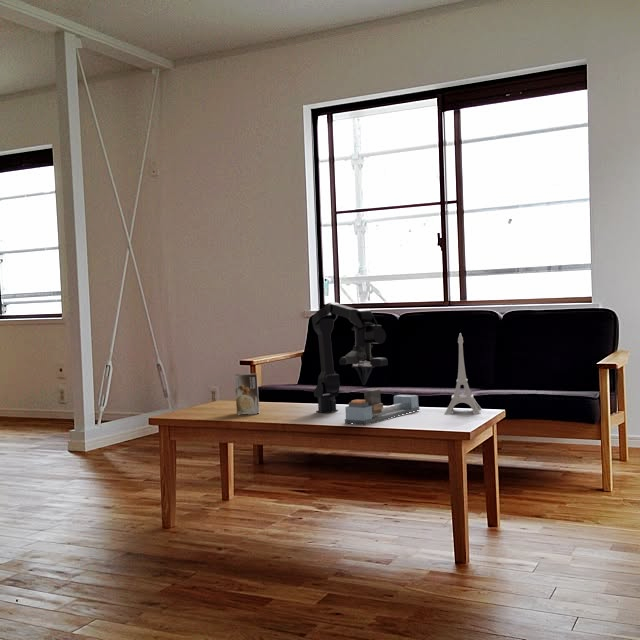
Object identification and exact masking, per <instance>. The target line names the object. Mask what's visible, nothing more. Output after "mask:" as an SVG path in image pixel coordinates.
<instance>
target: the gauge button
mask: <svg viewBox="0 0 640 640" xmlns="http://www.w3.org/2000/svg"><path fill="white" fill-rule="evenodd" d="M350 402H351V403H363V402H365V400H364V399H358V398H357V399H353V400H351V401H350Z"/></svg>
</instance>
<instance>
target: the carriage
mask: <svg viewBox="0 0 640 640" xmlns="http://www.w3.org/2000/svg"><path fill="white" fill-rule="evenodd" d="M363 395H364V397H363V398H364V399H363V400H365V402H368V406H372V415H374V414H378V413H382V409H383V407H384V403H382V402H381V401H382V400H381V388H380V389H379V388H378V389H377V388H372V389H368V390H364V391H363Z"/></svg>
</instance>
